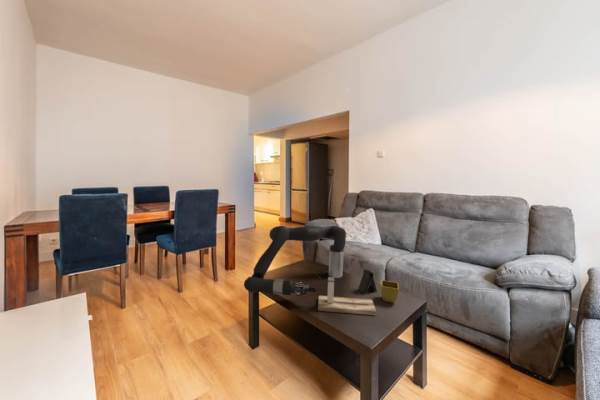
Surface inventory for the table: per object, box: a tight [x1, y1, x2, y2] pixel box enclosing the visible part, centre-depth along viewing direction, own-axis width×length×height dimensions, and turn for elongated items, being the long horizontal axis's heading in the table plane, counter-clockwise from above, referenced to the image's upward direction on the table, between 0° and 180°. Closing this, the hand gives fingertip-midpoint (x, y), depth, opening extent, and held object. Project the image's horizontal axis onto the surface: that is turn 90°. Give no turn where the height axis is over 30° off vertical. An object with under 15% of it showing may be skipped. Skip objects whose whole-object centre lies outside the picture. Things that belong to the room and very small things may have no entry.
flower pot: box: [380, 280, 400, 304], centre depth 139 cm, size 9×9×9 cm
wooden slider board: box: [317, 295, 377, 316], centre depth 131 cm, size 12×28×2 cm, turn 84°
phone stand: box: [357, 268, 378, 295], centre depth 150 cm, size 9×6×12 cm, turn 108°
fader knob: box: [326, 276, 335, 303], centre depth 131 cm, size 4×3×12 cm
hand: (315, 289), depth 132 cm, fingers closed
